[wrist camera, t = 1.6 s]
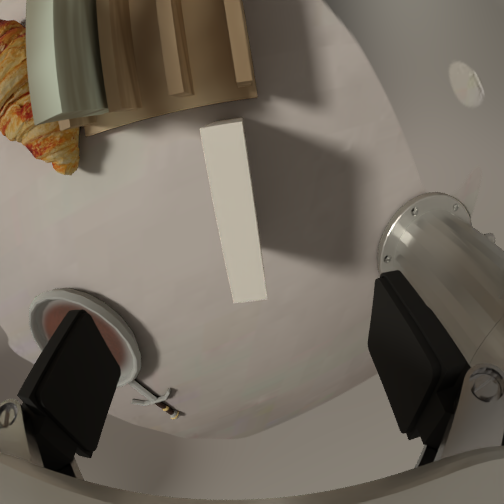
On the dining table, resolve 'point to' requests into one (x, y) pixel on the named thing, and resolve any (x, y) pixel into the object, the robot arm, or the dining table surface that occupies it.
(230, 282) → the white rectangular slab
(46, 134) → the croissant
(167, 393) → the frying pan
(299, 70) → the dining table surface
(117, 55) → the rack
